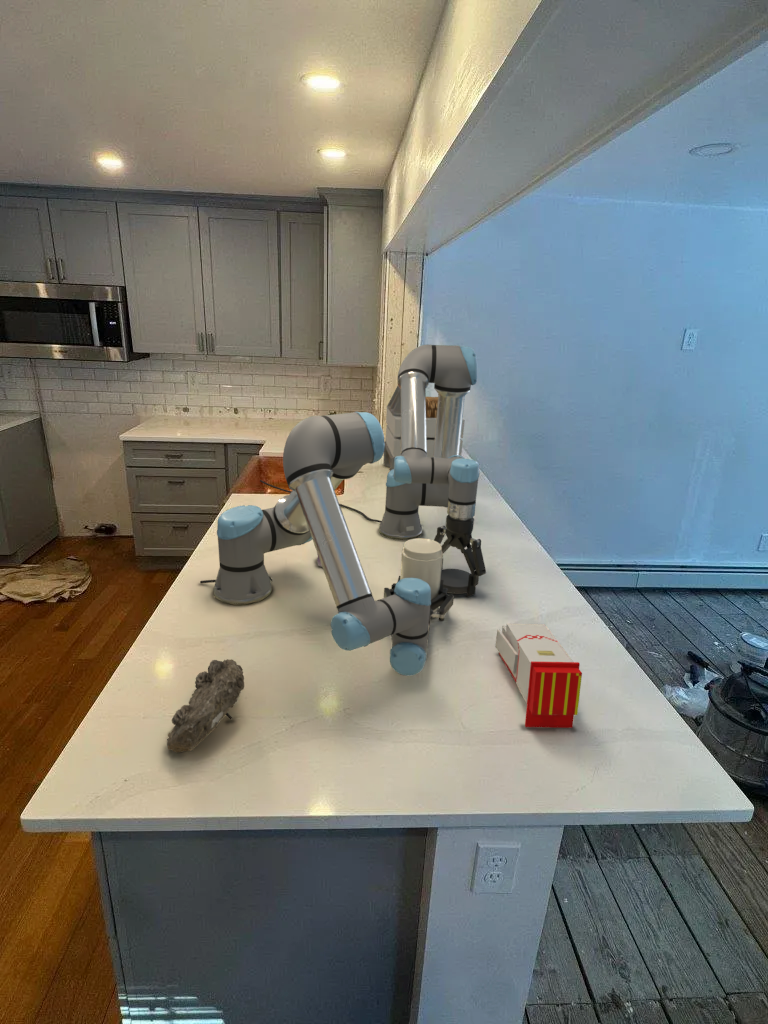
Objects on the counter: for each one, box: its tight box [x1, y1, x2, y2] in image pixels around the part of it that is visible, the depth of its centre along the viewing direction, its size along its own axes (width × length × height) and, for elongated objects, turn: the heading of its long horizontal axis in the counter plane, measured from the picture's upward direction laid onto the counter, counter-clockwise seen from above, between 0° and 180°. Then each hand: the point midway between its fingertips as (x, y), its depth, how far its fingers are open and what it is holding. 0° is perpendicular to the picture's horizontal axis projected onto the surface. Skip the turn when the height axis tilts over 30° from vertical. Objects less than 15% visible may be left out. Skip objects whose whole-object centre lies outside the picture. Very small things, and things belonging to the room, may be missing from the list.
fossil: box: [166, 658, 245, 754], centre depth 106 cm, size 22×10×15 cm
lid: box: [440, 568, 471, 595], centre depth 162 cm, size 12×12×2 cm
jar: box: [399, 537, 444, 619], centre depth 147 cm, size 10×10×19 cm
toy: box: [494, 623, 583, 729], centre depth 120 cm, size 12×13×30 cm
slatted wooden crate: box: [383, 385, 465, 472], centre depth 268 cm, size 34×33×41 cm
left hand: (420, 582), depth 151 cm, fingers closed on jar, 10 cm apart
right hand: (453, 587), depth 162 cm, fingers closed on lid, 12 cm apart
